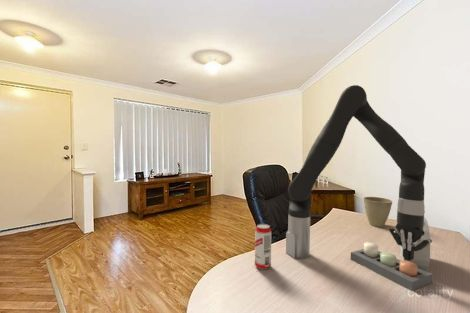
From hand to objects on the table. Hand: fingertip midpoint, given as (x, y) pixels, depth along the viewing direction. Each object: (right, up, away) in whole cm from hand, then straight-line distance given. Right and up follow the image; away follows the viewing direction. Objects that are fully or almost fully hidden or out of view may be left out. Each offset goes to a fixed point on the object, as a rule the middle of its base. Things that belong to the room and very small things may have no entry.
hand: (408, 259), depth 80 cm
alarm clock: (+12, -7, +13) cm, 19 cm away
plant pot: (+26, -6, +59) cm, 64 cm away
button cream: (-6, -4, +13) cm, 15 cm away
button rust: (0, -6, 0) cm, 6 cm away
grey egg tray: (-3, -7, +7) cm, 10 cm away
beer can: (-51, -7, +8) cm, 52 cm away
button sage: (-3, -6, +7) cm, 9 cm away
